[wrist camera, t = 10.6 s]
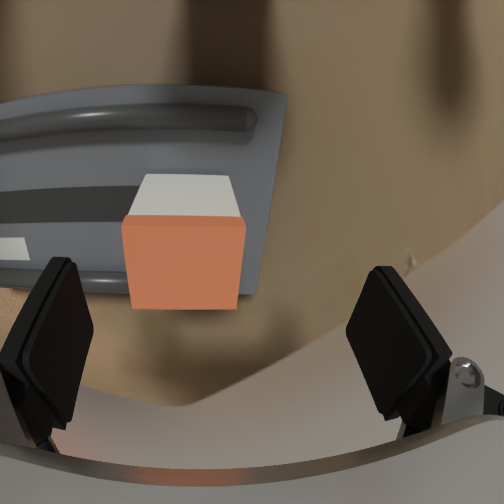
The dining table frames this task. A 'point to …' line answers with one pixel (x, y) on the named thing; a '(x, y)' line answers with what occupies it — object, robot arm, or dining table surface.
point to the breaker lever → (184, 243)
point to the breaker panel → (125, 170)
